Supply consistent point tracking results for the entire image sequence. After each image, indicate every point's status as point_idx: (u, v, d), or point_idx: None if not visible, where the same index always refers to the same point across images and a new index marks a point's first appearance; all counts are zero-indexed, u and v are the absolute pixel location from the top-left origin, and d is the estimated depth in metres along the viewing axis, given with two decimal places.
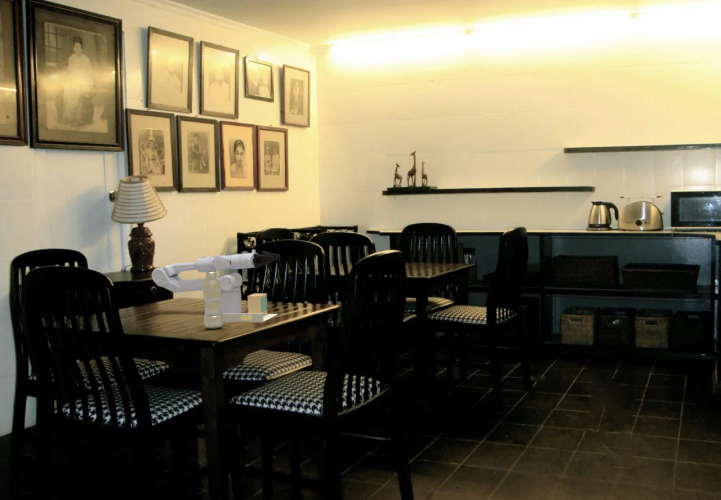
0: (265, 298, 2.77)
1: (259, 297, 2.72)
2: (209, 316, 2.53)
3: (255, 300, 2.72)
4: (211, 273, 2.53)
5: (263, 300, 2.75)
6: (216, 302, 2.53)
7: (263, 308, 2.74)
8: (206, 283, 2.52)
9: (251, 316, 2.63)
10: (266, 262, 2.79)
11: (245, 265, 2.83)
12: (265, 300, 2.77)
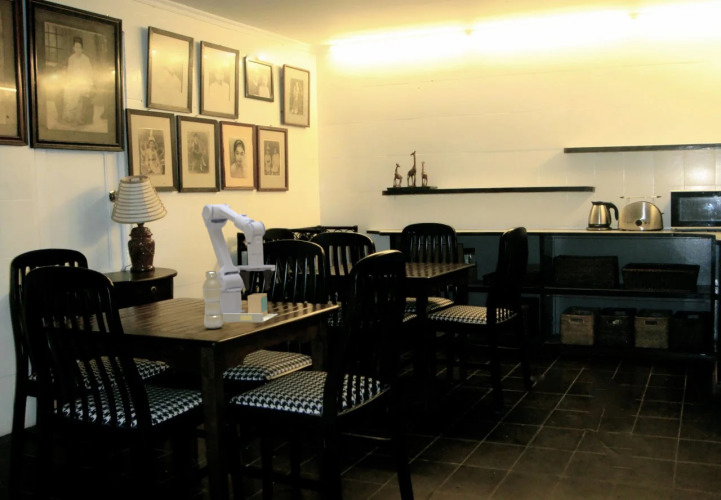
0: (265, 298, 2.77)
1: (259, 297, 2.72)
2: (209, 316, 2.53)
3: (255, 300, 2.72)
4: (211, 273, 2.53)
5: (263, 300, 2.75)
6: (216, 302, 2.53)
7: (263, 308, 2.74)
8: (206, 283, 2.52)
9: (251, 316, 2.63)
10: None
11: None
12: (265, 300, 2.77)
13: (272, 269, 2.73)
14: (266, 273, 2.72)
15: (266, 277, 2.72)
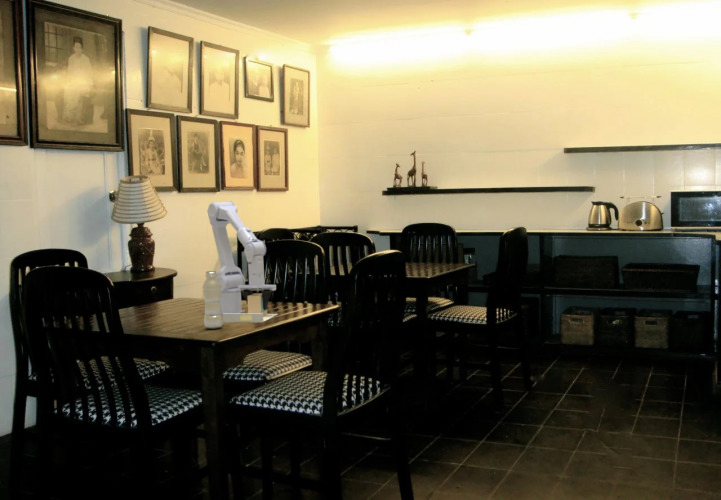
0: None
1: (259, 297, 2.72)
2: (209, 316, 2.53)
3: (255, 300, 2.73)
4: (211, 273, 2.53)
5: None
6: (216, 302, 2.53)
7: None
8: (206, 283, 2.52)
9: (251, 316, 2.63)
10: None
11: None
12: None
13: (273, 289, 2.73)
14: (265, 293, 2.72)
15: (265, 297, 2.73)
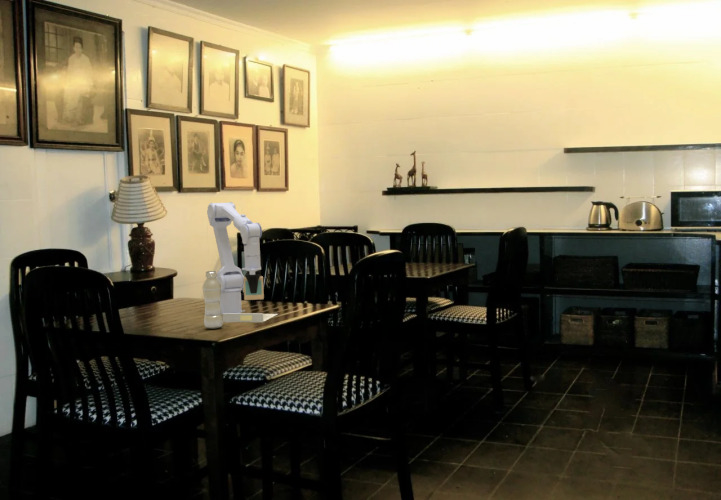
0: None
1: None
2: (209, 316, 2.53)
3: None
4: (211, 273, 2.53)
5: None
6: (216, 302, 2.53)
7: None
8: (206, 283, 2.52)
9: (251, 316, 2.63)
10: None
11: None
12: None
13: (249, 273, 2.65)
14: (245, 276, 2.68)
15: (247, 280, 2.68)
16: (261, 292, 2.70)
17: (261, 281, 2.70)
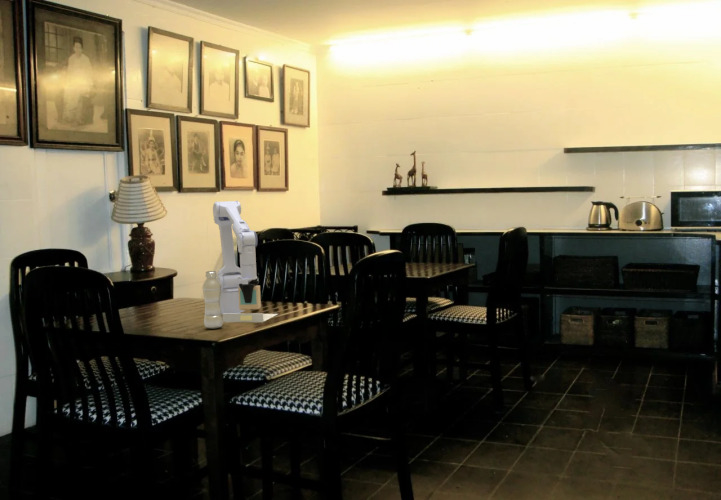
0: None
1: None
2: (209, 316, 2.53)
3: None
4: (211, 273, 2.53)
5: None
6: (216, 302, 2.53)
7: (244, 301, 2.66)
8: (206, 283, 2.52)
9: (251, 316, 2.63)
10: None
11: None
12: None
13: None
14: None
15: None
16: (256, 302, 2.66)
17: (256, 291, 2.65)
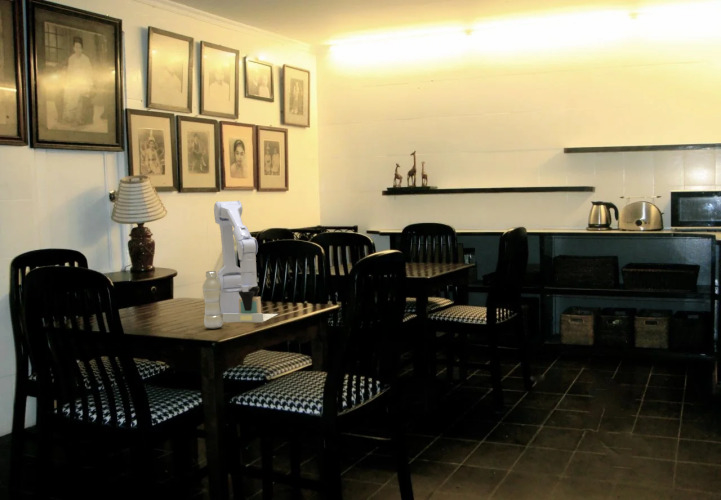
0: (252, 303, 2.66)
1: (239, 300, 2.66)
2: (209, 316, 2.53)
3: None
4: (211, 273, 2.53)
5: None
6: (216, 302, 2.53)
7: (245, 312, 2.66)
8: (206, 283, 2.52)
9: (251, 316, 2.63)
10: None
11: None
12: (252, 305, 2.66)
13: None
14: None
15: None
16: None
17: (256, 302, 2.66)
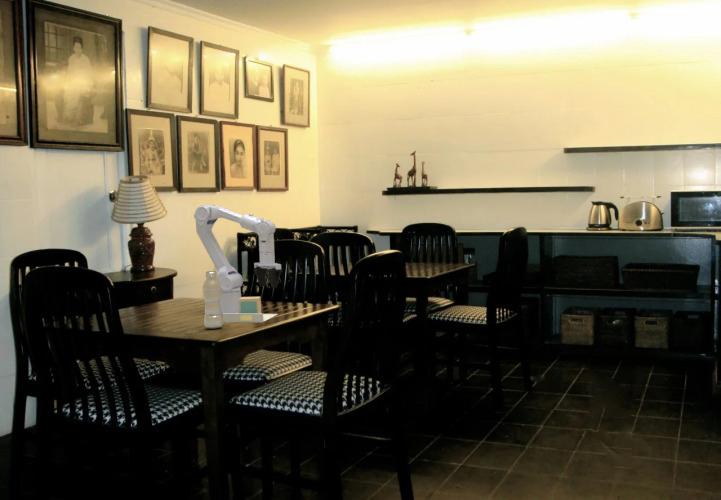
0: (252, 303, 2.66)
1: (239, 300, 2.66)
2: (209, 316, 2.53)
3: None
4: (211, 273, 2.53)
5: (246, 304, 2.66)
6: (216, 302, 2.53)
7: (245, 312, 2.66)
8: (206, 283, 2.52)
9: (251, 316, 2.63)
10: None
11: None
12: (252, 305, 2.66)
13: (276, 268, 2.77)
14: (269, 271, 2.77)
15: (271, 275, 2.78)
16: None
17: (256, 302, 2.66)
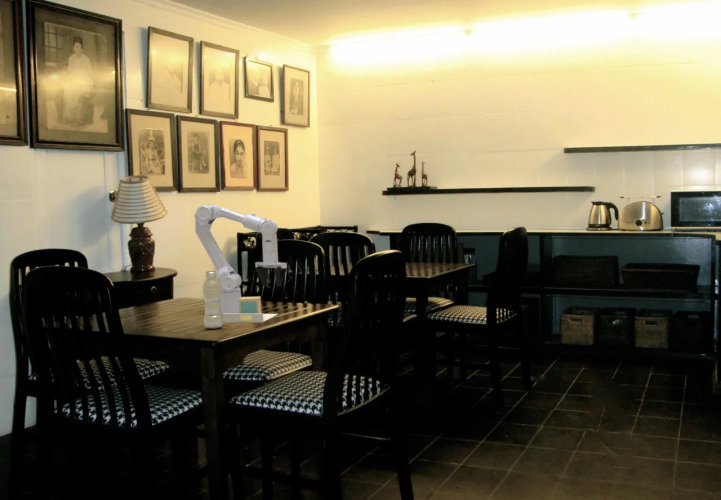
0: (252, 303, 2.66)
1: (239, 300, 2.66)
2: (209, 316, 2.53)
3: None
4: (211, 273, 2.53)
5: (246, 304, 2.66)
6: (216, 302, 2.53)
7: (245, 312, 2.66)
8: (206, 283, 2.52)
9: (251, 316, 2.63)
10: None
11: None
12: (252, 305, 2.66)
13: (282, 267, 2.81)
14: (276, 270, 2.81)
15: (276, 274, 2.81)
16: None
17: (256, 302, 2.66)
